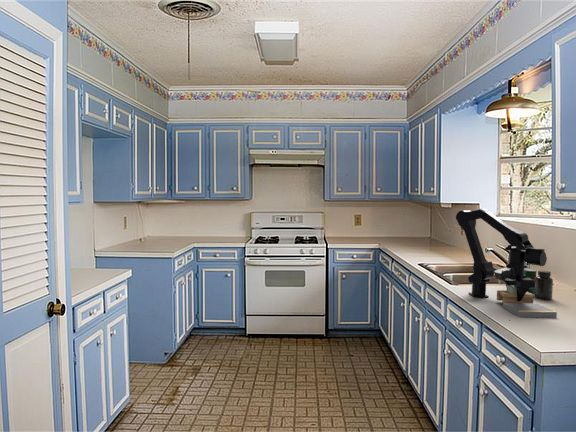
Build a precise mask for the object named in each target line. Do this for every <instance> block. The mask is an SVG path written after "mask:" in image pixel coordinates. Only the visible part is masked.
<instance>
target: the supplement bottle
mask: <svg viewBox="0 0 576 432" xmlns="http://www.w3.org/2000/svg"><path fill="white" fill-rule="evenodd" d="M551 273H552V272H551V271H549V270H541V269H540V270H537V276H536V278H535V282H536V287H535V294H534V298H536V299H538V300H546V301H548V300H549V301H550V300H552V299H553V291H554V290H553V289H554V279H553V278H552V277H551V276H552V275H551Z"/></svg>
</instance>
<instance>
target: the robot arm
mask: <svg viewBox="0 0 576 432" xmlns="http://www.w3.org/2000/svg"><path fill="white" fill-rule="evenodd" d="M479 219H480V220H481V221H482V220H483V221H484V222H485V223H487V224H488V225H489V226H490V227H492V228H493V229H495V230H496V232H499V233H500V234H501V235H502V236H503V238H504V240H505V241H506V242H507V243H508V245H507V247H505V248H504V249H503V250H504V251H509V259H508V263H506V265H505V267H501V268H498V269H495V268H494V266H493V265H494V264H493V262H492V261H488V260H487V259H486V256H485V254H484V251H483V247H482V245H481V241H480V239H479V236H478V235H479V234H478V232H477V229H476V225H477V220H479ZM455 220H456V222H457V224H458V226H459V227H460V228H461V229H462V230H463V232H464V235H465V237H466V241H467V244H468V247H469V250H470V254H471V256H472V259H473V264H472V265H473V266H472V270H473V273H472V274H471V275H469V276H468V277H467V279H468V282H469V283H471V292H468V294H469V295H470V296H472V297H474V298H489V297H490V296H489V295H487V283H489V282H491V279H492V278H493V277H494V276H495V279H498V281H500V282H503V283H504V285H505V287H506V288H507V285H514V286H515V288H516V289H517V301H521V300H522V298H523V297H524V295H525V294H526V292H527V291H528V290H529V288H531V287H536V282H535V281H534V280H532V279H529V278H526V276H525V275H524V268H528V265H531V266H532V265H533V266H537V267H538V266H540V267H545V265H546V264H547V260H548V258H547V254H546V252H545V251H546V249H545V248H537V247H536V248H535V247H534V246H533V244H532V243H531V242H530V240H529V235H528V234H527V233H526V232H524V231H522V230H520V229H517V228H515V227H512V226H510V225H509V224H507V223H506V222H505V221H503V220H502V219H500V218H499V217H497V216H496V215H495V214H493V213H492V212H491V211H489V209H486V208H479V209H476V210H469V209H468V210H459V211H458V212H457V213H456V215H455ZM525 263H526V264H527V265H526V264H525Z"/></svg>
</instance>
